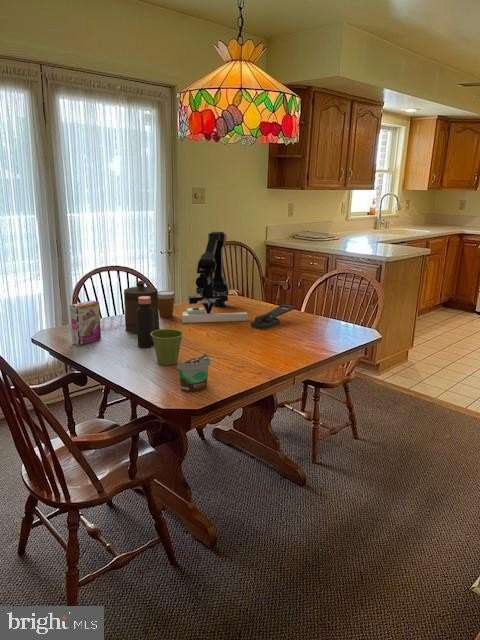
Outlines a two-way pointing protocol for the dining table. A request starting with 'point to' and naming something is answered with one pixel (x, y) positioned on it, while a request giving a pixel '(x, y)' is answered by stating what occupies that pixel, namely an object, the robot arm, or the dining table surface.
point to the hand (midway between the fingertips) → (208, 315)
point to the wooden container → (132, 305)
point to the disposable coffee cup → (166, 303)
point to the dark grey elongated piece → (268, 321)
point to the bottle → (145, 322)
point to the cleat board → (214, 317)
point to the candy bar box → (85, 322)
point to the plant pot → (167, 345)
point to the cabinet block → (195, 310)
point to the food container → (194, 374)
